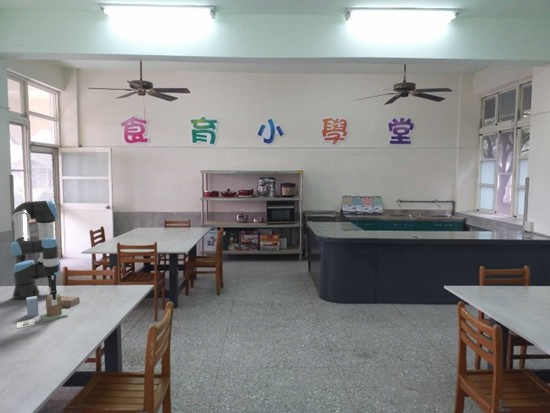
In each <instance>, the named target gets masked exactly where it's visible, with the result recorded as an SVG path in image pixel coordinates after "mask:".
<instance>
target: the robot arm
mask: <svg viewBox="0 0 550 413" xmlns="http://www.w3.org/2000/svg"><path fill="white" fill-rule="evenodd" d="M57 209H58V208H57V205H56V202H55V201H54V200H37V201H36V200H35V201H34V200H33V201H25V202H23V203H22V202H21V204H19V205H18V206H16V207H15V208H14V210H13V212H12V214H11V218H12V221H13V224H14V229H13V230H14V241H13V242H11V243H10V253H11V255H12V256H23V255H25V256H26V255H32V254H39V255H40V257H39V258H38V259H37V261H35V260H34V259H28V260H23V261H20V262H18V263H15V264H14V266H13V273H14V276H13V277H14V289H13V293H12V299H13V300H16V301H17V300H19V301H21V300H26V298H27V297H33V296H37V297H38V296H40V293H41V292H40V289H39V287H38V285H37V282H36V280H40V279H47V282H48V296H51V302H52V306H53V305H57V294H58V291H57V277H58V276H60V273H61V259H59V255H58V253H59V252H58V240H57V238H56V237H55V230H54V228H55V227H54V223H55V222H56V220H57V218H59V214H58V211H57ZM31 220H34V221H35V223H36V224H37V225H38V226H37V227H38V239H33V240H31V234H30V233H31V232H30V221H31Z"/></svg>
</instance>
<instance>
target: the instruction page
mask: <svg viewBox="0 0 550 413" xmlns="http://www.w3.org/2000/svg"><path fill="white" fill-rule="evenodd" d="M30 326H35V319H33V318H32V319H27V320H22V321H17V322H16V329H21V328H25V327H30Z"/></svg>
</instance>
